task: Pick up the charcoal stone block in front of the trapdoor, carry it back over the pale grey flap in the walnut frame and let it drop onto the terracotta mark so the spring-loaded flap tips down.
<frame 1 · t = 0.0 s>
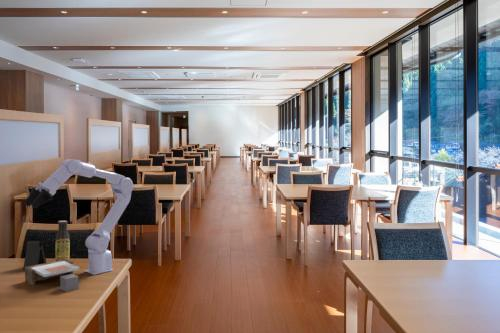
hand: (29, 205, 181), 32 cm above the table, tool tilted 50°, fingers open, 7 cm apart
stone: (69, 289, 179), on the table
trapdoor frame: (54, 281, 189), on the table
trapdoor: (55, 268, 188), point 6 cm above the table, hinge at -0.3°
sauce bottle: (62, 263, 218), on the table
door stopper: (35, 267, 210), on the table
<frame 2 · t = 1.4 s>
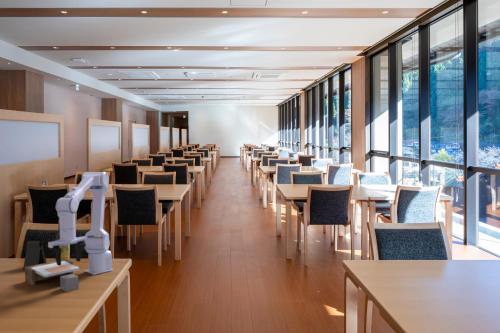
hand: (68, 262, 179), 10 cm above the table, tool pointing down, fingers open, 7 cm apart
trapdoor: (55, 268, 188), point 5 cm above the table, hinge at -0.6°
everything else where it was.
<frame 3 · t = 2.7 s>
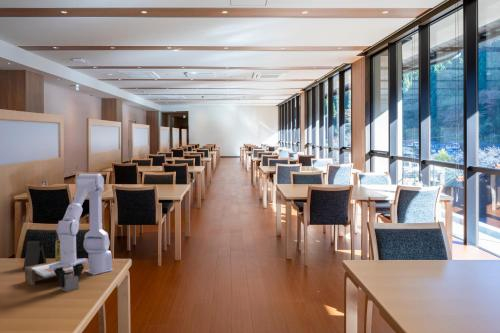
hand: (69, 285, 179), 1 cm above the table, tool pointing down, fingers closed on stone, 5 cm apart
stone: (69, 288, 179), on the table, touching gripper
everything else where it was.
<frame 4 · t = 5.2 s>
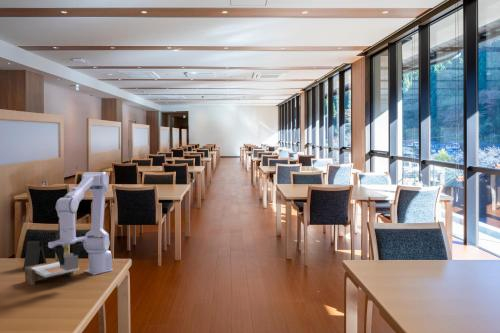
hand: (68, 262, 179), 10 cm above the table, tool pointing down, fingers closed on stone, 5 cm apart
stone: (69, 267, 179), point 8 cm above the table, touching gripper
everything else where it was.
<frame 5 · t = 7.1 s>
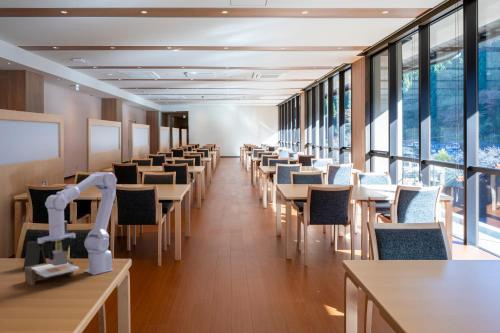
hand: (57, 258, 185), 10 cm above the table, tool pointing down, fingers closed on stone, 5 cm apart
stone: (58, 263, 185), point 8 cm above the table, touching gripper
everything else where it was.
when the fingers open (10 cm above the table, at t = 7.9 s): stone drops 5 cm, resting on trapdoor.
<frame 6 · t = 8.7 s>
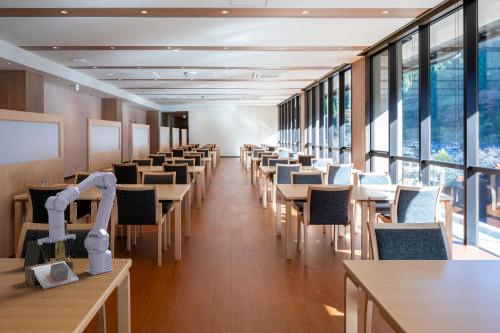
hand: (57, 259, 186), 10 cm above the table, tool pointing down, fingers open, 7 cm apart
stone: (58, 277, 186), point 2 cm above the table, tilted 21°, touching trapdoor
trapdoor: (54, 274, 188), point 3 cm above the table, hinge at -21.1°, touching stone
everything else where it was.
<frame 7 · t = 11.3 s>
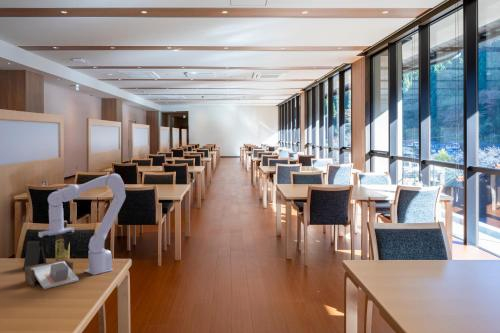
hand: (57, 251, 197), 10 cm above the table, tool pointing down, fingers open, 7 cm apart
nothing on the table moved.
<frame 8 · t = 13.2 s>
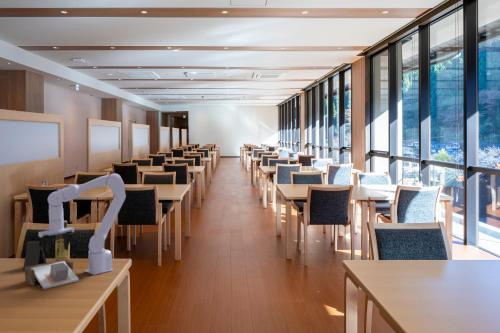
hand: (57, 251, 197), 10 cm above the table, tool pointing down, fingers open, 7 cm apart
nothing on the table moved.
at the end: trapdoor at -21° (first picture: +0°); stone point 2.4 cm above the table; the gripper is holding nothing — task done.
